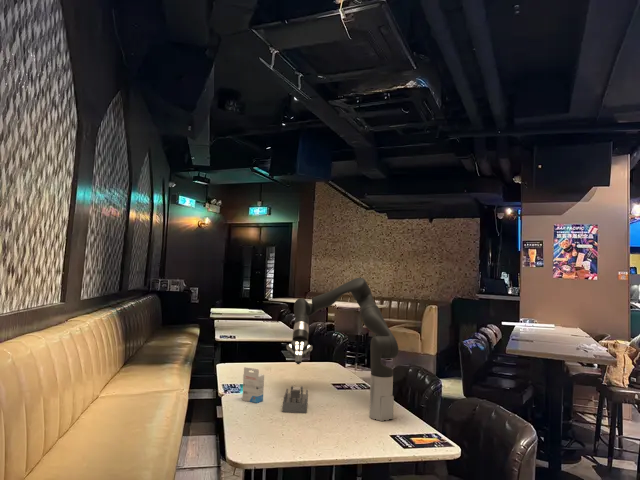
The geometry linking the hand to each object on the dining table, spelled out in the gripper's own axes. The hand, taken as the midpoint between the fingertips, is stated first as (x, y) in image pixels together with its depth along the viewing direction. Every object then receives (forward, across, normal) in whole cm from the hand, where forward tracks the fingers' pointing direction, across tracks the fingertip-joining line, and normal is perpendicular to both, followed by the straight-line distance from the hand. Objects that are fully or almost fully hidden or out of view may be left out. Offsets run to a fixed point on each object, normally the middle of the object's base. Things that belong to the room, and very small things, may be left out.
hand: (298, 363), depth 213 cm
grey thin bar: (+11, 0, -3) cm, 11 cm away
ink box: (+14, +20, -10) cm, 26 cm away
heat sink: (+20, 0, -4) cm, 20 cm away
